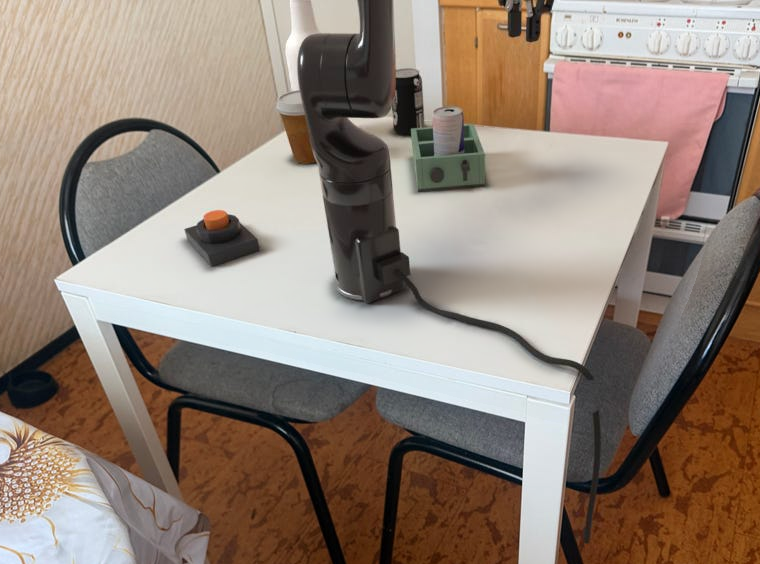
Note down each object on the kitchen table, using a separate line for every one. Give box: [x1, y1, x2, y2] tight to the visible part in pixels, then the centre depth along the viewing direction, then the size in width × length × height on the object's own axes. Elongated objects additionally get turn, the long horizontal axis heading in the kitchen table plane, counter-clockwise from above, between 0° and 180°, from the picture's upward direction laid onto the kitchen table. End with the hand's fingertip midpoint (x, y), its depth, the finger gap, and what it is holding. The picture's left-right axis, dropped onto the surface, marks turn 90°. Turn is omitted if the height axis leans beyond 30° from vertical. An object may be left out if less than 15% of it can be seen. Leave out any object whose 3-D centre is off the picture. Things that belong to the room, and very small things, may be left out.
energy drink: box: [431, 105, 465, 156], centre depth 123 cm, size 5×5×12 cm
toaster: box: [410, 123, 486, 193], centre depth 127 cm, size 12×17×6 cm
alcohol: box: [284, 0, 321, 91], centre depth 139 cm, size 9×9×30 cm
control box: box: [184, 213, 261, 268], centre depth 110 cm, size 11×8×4 cm
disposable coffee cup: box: [275, 90, 317, 165], centre depth 135 cm, size 10×10×12 cm
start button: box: [202, 209, 229, 230], centre depth 109 cm, size 4×4×2 cm
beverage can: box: [391, 67, 426, 137], centre depth 144 cm, size 7×7×12 cm
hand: (523, 38), depth 113 cm, fingers open, 3 cm apart
